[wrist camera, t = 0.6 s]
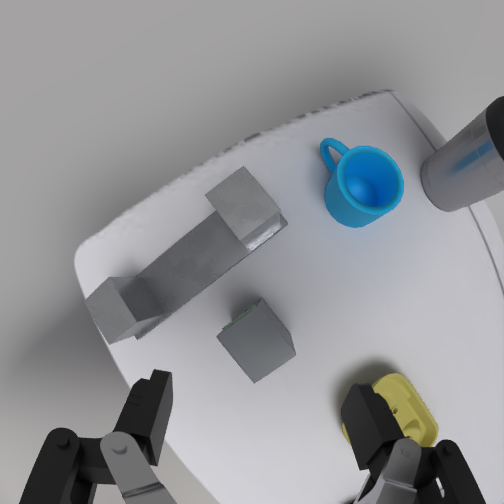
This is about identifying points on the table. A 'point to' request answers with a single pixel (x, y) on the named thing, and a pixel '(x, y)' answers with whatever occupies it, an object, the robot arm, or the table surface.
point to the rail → (189, 261)
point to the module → (257, 341)
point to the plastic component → (406, 409)
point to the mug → (361, 183)
